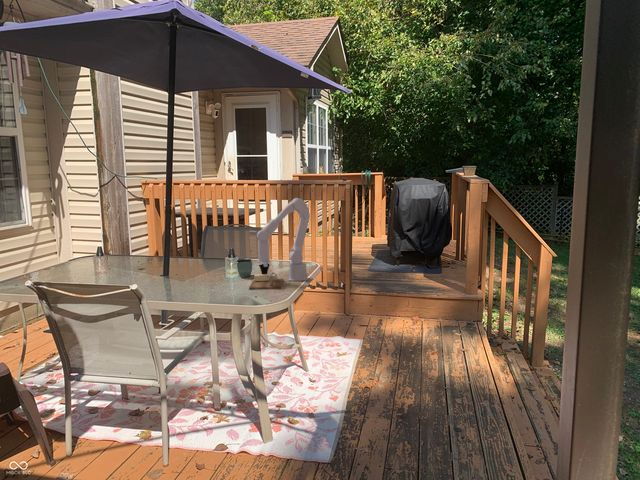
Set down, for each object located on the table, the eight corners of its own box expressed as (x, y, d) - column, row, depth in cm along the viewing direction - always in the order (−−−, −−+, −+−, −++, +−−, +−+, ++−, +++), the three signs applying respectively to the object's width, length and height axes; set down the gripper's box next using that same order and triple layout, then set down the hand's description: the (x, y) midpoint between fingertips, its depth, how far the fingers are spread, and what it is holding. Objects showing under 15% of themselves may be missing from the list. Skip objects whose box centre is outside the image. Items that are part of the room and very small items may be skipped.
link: (277, 278, 268) (276, 271, 267) (277, 280, 264) (277, 273, 264) (254, 279, 267) (254, 272, 266) (254, 281, 263) (254, 274, 262)
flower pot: (237, 278, 278) (236, 262, 277) (236, 275, 286) (236, 259, 285) (253, 277, 280) (252, 261, 278) (252, 274, 288) (251, 258, 287)
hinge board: (283, 280, 269) (282, 269, 268) (280, 288, 251) (280, 276, 250) (253, 281, 269) (253, 270, 268) (249, 289, 251) (248, 277, 250)
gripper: (254, 251, 271) (255, 275, 273) (257, 255, 257) (258, 281, 259) (267, 250, 273) (268, 274, 275) (271, 254, 259) (272, 280, 261)
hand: (264, 277), depth 267 cm, fingers closed, pressing on link
